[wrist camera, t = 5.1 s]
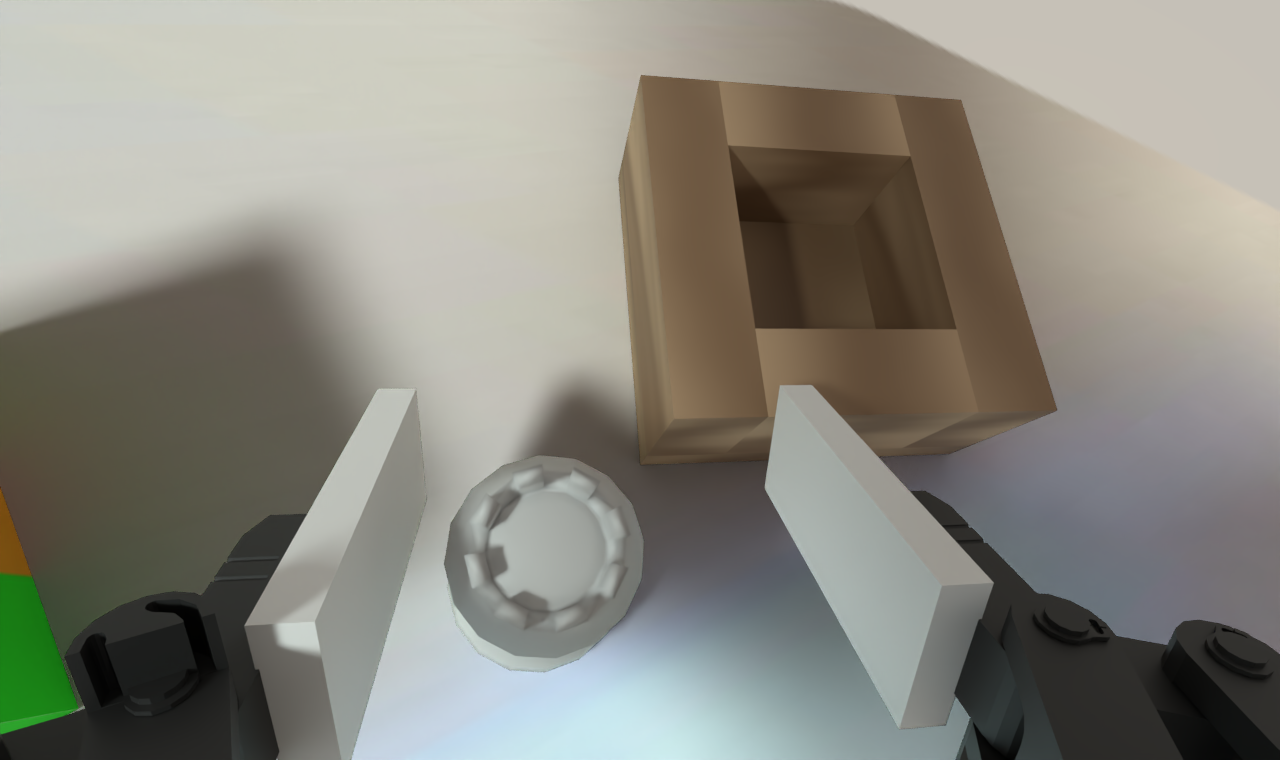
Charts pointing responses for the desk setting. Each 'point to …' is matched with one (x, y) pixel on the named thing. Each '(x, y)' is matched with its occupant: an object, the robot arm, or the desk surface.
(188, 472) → the desk surface
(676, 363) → the socket block
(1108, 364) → the desk surface
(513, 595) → the rook chess piece
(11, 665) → the puzzle toy
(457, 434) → the desk surface
